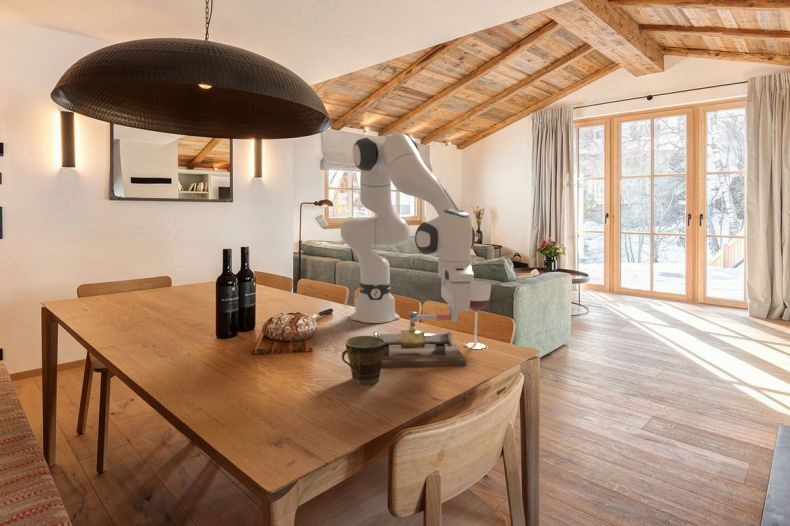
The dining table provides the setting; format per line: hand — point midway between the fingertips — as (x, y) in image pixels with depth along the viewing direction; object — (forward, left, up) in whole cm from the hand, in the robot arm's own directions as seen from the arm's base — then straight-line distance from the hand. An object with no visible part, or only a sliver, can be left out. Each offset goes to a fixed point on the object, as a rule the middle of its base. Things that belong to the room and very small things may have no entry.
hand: (453, 320), depth 124 cm
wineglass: (-16, +11, -13) cm, 23 cm away
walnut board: (-6, -10, -12) cm, 17 cm away
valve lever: (-6, -5, -3) cm, 8 cm away
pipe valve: (-6, -11, -11) cm, 16 cm away
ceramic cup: (+11, -25, -13) cm, 30 cm away
